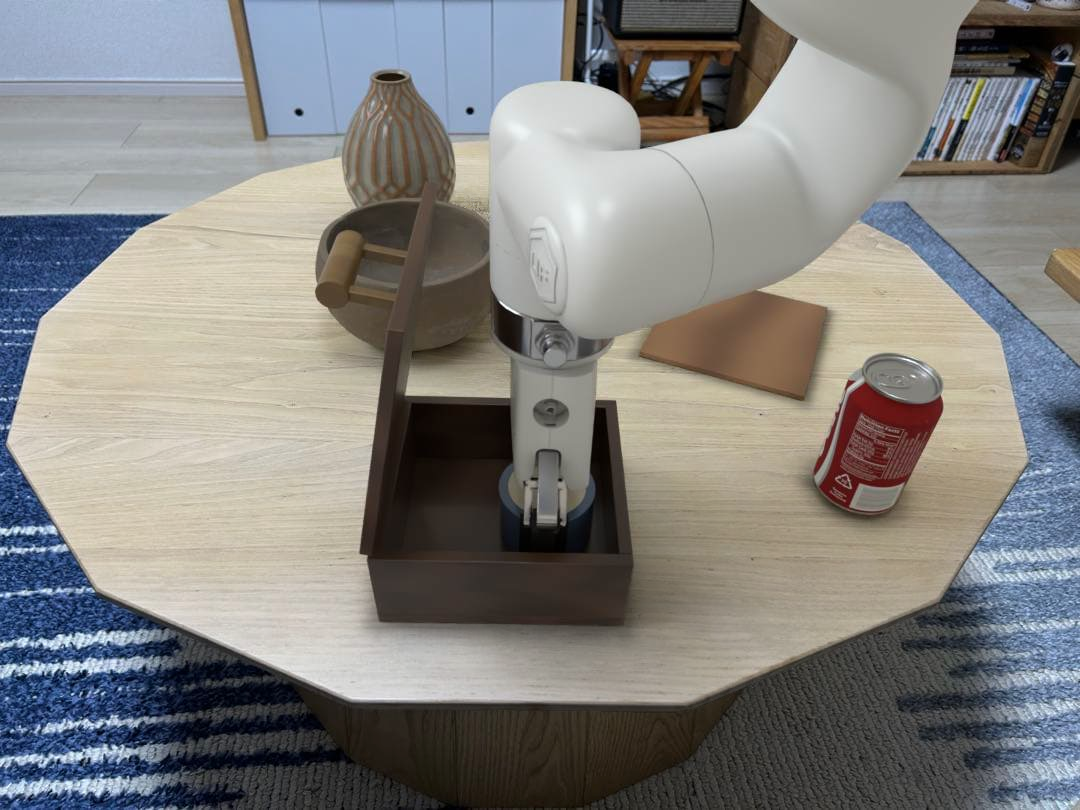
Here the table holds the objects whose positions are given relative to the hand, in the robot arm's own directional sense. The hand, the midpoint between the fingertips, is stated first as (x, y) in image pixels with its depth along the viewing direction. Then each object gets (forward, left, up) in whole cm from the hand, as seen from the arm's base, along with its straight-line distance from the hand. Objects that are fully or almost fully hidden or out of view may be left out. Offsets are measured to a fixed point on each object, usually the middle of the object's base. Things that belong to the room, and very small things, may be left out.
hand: (542, 499), depth 57 cm
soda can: (-22, -15, -4) cm, 26 cm away
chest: (+2, +1, -4) cm, 5 cm away
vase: (+34, -38, -4) cm, 51 cm away
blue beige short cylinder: (0, 0, -3) cm, 3 cm away
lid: (+8, +4, +12) cm, 15 cm away
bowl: (+22, -20, -4) cm, 30 cm away
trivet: (-8, -32, -4) cm, 33 cm away
